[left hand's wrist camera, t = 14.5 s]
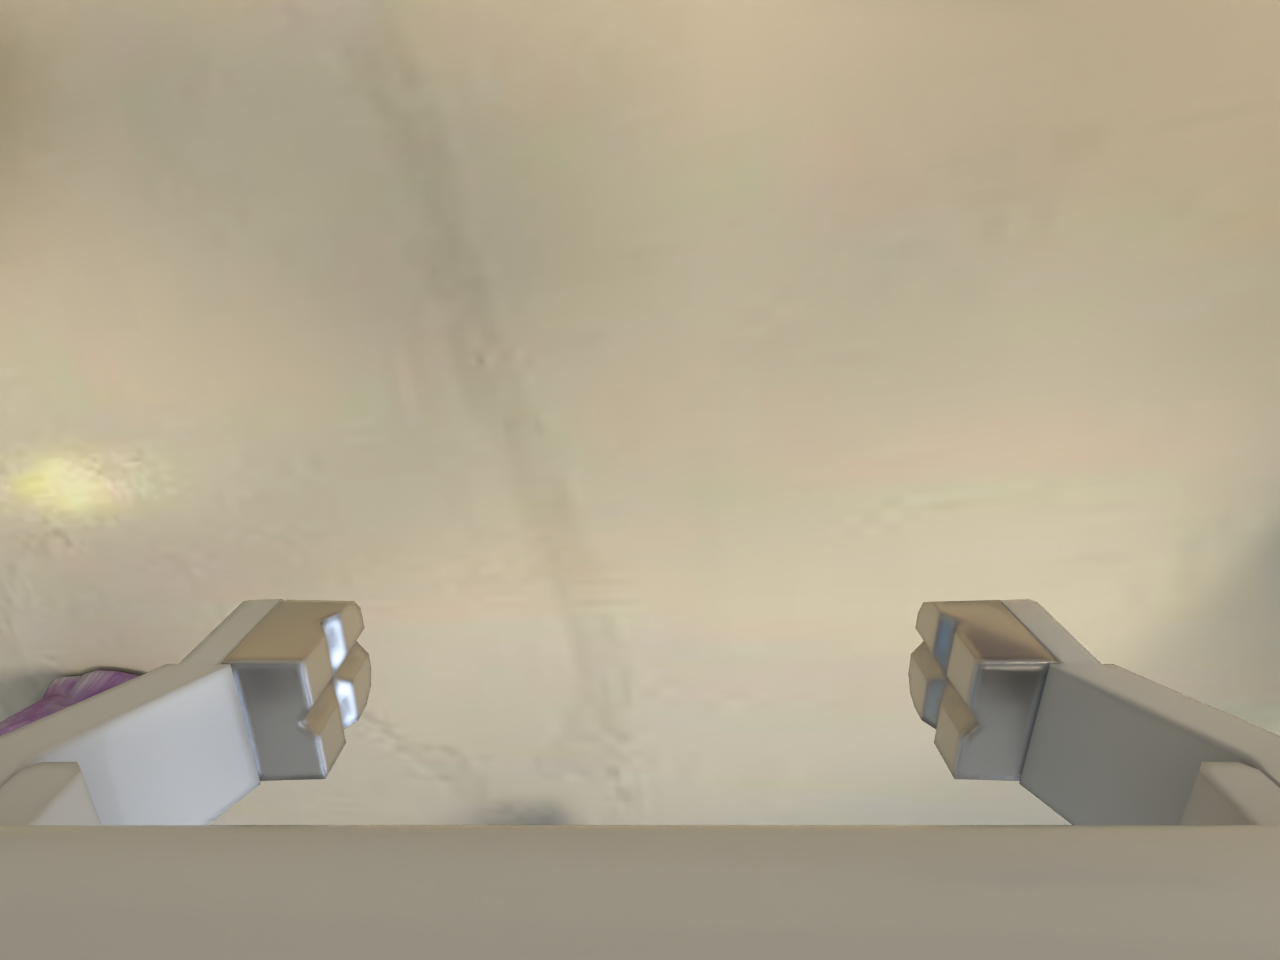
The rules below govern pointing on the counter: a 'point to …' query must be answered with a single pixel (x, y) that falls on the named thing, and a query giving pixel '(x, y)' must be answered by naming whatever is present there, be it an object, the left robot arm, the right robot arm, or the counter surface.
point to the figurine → (66, 696)
